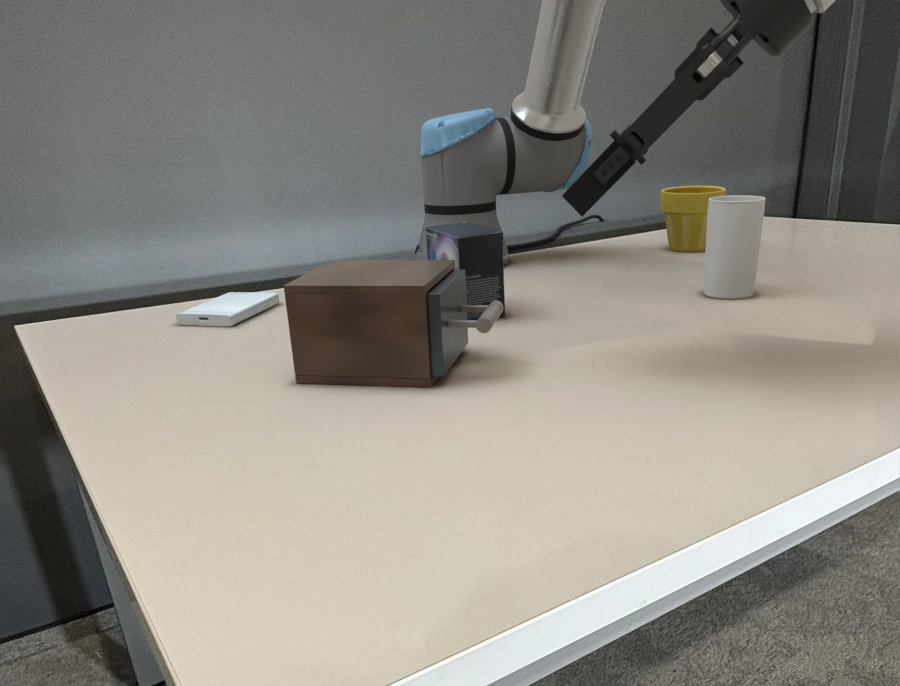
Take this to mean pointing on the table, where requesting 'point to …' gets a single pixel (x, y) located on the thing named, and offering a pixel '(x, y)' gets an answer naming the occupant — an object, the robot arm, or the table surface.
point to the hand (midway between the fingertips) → (573, 205)
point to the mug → (732, 245)
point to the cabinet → (363, 322)
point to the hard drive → (227, 309)
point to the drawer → (454, 320)
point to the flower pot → (687, 215)
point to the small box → (472, 259)
